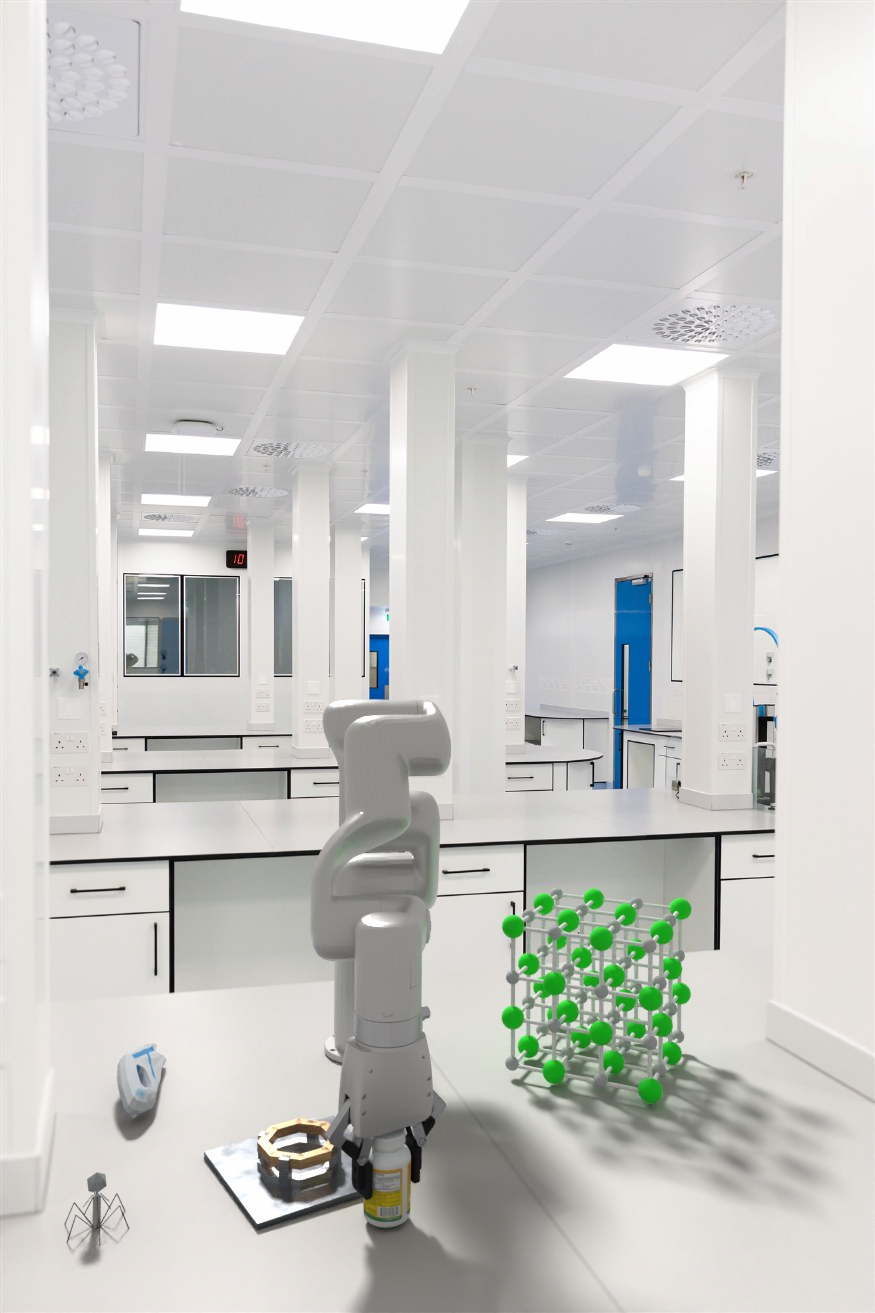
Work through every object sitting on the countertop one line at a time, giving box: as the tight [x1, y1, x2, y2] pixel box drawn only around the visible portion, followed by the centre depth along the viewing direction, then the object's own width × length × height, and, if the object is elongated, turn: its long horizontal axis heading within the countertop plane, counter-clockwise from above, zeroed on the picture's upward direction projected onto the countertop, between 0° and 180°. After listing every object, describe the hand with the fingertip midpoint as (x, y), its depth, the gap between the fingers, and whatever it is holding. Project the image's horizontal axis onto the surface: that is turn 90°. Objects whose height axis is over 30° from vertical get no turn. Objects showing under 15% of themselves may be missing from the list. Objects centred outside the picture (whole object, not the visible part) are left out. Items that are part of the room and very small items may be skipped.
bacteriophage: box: [64, 1172, 130, 1246], centre depth 108 cm, size 7×8×7 cm
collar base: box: [203, 1115, 363, 1231], centre depth 120 cm, size 18×18×4 cm
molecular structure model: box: [501, 887, 692, 1105], centre depth 153 cm, size 24×25×24 cm
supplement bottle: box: [362, 1128, 412, 1229], centre depth 110 cm, size 5×5×10 cm
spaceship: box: [116, 1043, 167, 1116], centre depth 141 cm, size 23×7×4 cm
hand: (387, 1183), depth 110 cm, fingers closed on supplement bottle, 5 cm apart
